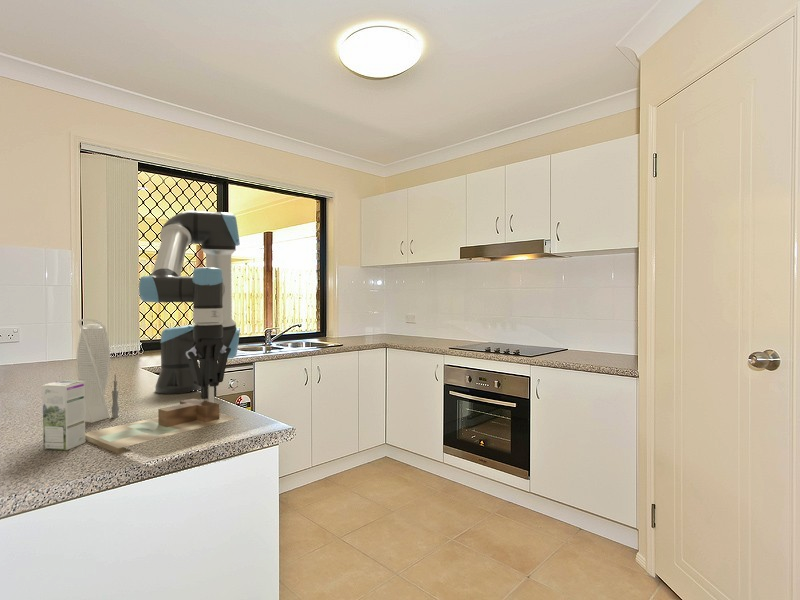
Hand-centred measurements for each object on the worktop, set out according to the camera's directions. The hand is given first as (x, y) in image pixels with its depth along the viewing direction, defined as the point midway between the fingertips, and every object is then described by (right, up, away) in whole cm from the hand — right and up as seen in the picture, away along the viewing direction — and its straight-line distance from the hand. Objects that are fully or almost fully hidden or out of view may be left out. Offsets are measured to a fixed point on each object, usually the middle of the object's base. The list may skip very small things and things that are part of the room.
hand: (208, 409), depth 125 cm
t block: (-4, -2, -6) cm, 7 cm away
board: (-7, -3, -10) cm, 12 cm away
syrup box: (-23, -3, -22) cm, 32 cm away
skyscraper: (-29, -3, -4) cm, 29 cm away
